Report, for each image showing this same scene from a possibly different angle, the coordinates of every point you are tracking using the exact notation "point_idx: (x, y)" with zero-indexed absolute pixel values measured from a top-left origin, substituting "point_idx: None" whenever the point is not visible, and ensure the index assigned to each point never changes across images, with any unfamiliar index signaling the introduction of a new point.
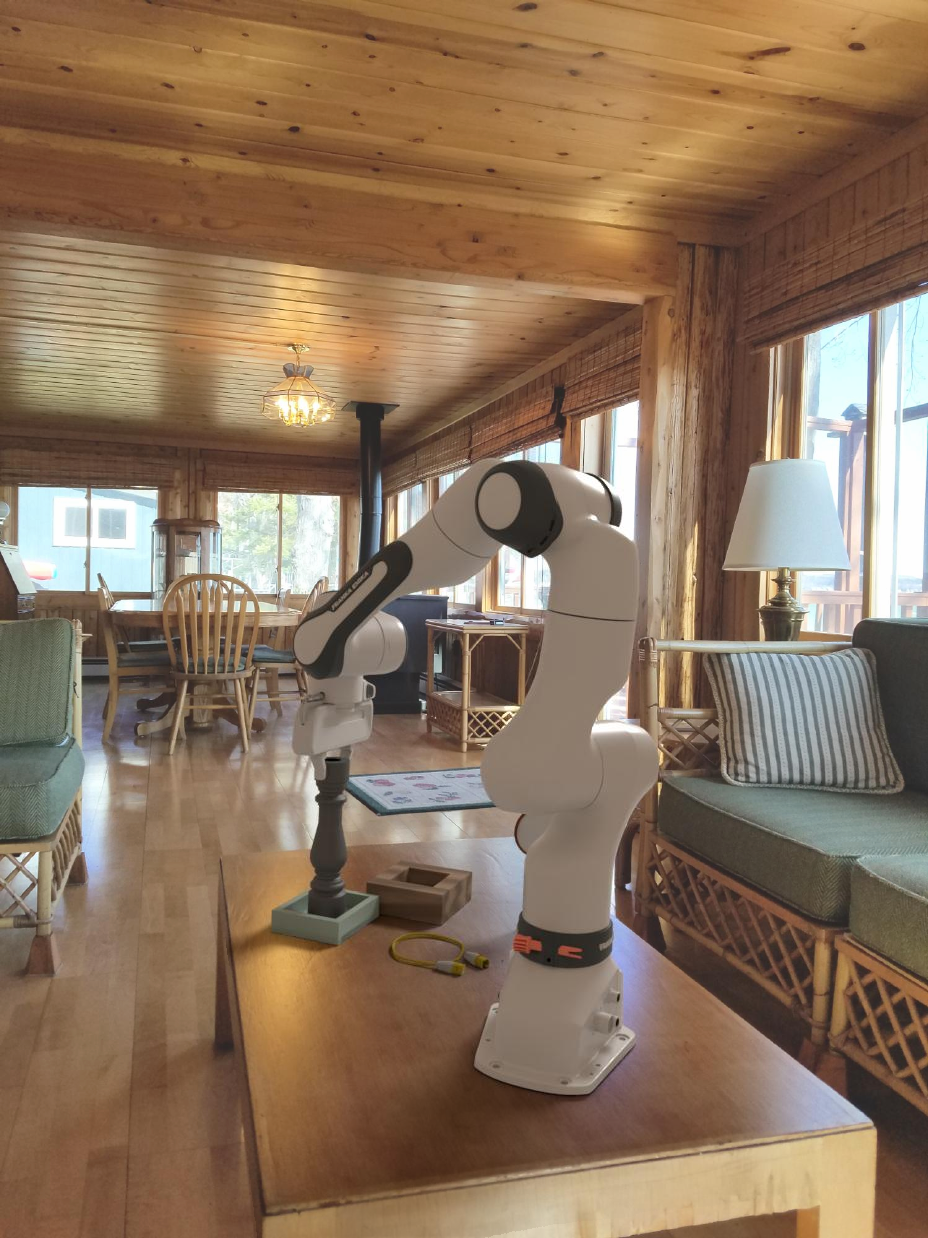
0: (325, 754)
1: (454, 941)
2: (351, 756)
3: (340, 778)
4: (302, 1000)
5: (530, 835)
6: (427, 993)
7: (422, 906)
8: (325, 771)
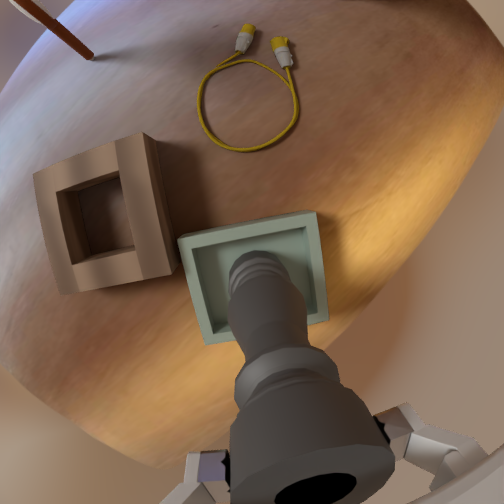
0: (459, 464)
1: (201, 89)
2: (171, 496)
3: (339, 394)
4: (428, 154)
5: (42, 4)
6: (345, 53)
7: (154, 169)
8: (410, 423)
